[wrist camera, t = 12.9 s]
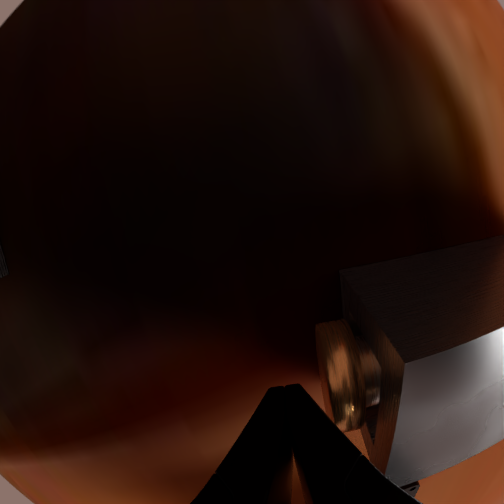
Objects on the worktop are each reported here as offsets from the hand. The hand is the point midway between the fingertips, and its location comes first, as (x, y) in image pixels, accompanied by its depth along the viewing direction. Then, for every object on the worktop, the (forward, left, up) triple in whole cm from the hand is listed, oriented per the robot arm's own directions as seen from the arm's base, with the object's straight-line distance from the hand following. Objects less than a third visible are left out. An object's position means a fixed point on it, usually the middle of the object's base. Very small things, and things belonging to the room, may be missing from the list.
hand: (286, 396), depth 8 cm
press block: (0, -7, -3) cm, 7 cm away
